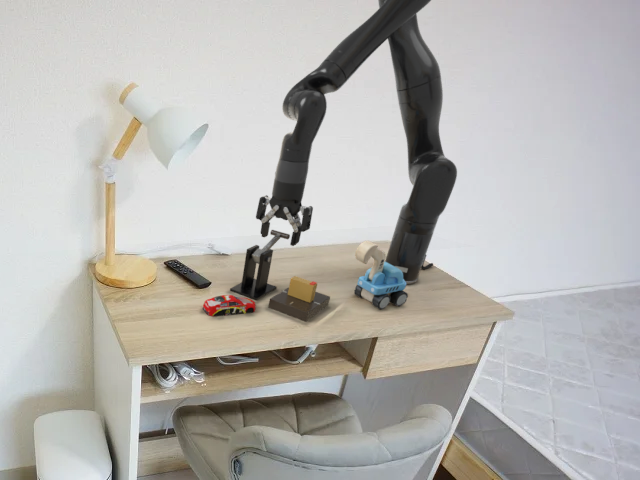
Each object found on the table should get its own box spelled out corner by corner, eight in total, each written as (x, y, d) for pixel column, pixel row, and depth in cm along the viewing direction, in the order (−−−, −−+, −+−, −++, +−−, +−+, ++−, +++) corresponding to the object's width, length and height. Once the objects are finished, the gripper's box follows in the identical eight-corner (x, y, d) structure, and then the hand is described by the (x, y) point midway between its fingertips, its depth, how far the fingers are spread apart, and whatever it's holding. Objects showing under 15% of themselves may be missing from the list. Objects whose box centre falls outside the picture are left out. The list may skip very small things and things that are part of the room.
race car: (249, 304, 129) (252, 290, 127) (258, 314, 124) (261, 300, 122) (200, 308, 126) (201, 294, 124) (207, 319, 122) (209, 304, 120)
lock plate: (291, 294, 134) (293, 283, 132) (328, 307, 128) (331, 296, 127) (267, 309, 127) (269, 297, 125) (305, 324, 121) (308, 312, 119)
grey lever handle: (273, 234, 136) (272, 227, 135) (290, 239, 133) (290, 231, 132) (247, 260, 131) (247, 252, 130) (264, 265, 129) (264, 258, 127)
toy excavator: (331, 300, 132) (348, 236, 123) (382, 291, 137) (401, 229, 128) (355, 315, 125) (374, 249, 116) (407, 305, 130) (429, 241, 121)
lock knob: (287, 294, 127) (291, 277, 124) (291, 292, 128) (295, 275, 126) (309, 302, 123) (313, 285, 121) (313, 300, 125) (317, 282, 122)
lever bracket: (250, 281, 140) (256, 240, 134) (276, 290, 136) (284, 248, 130) (229, 292, 134) (235, 250, 128) (255, 302, 130) (263, 259, 123)
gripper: (324, 181, 124) (310, 244, 133) (272, 170, 133) (262, 230, 141) (310, 186, 120) (296, 251, 128) (257, 175, 128) (247, 237, 137)
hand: (278, 240), depth 135 cm, fingers open, 8 cm apart
